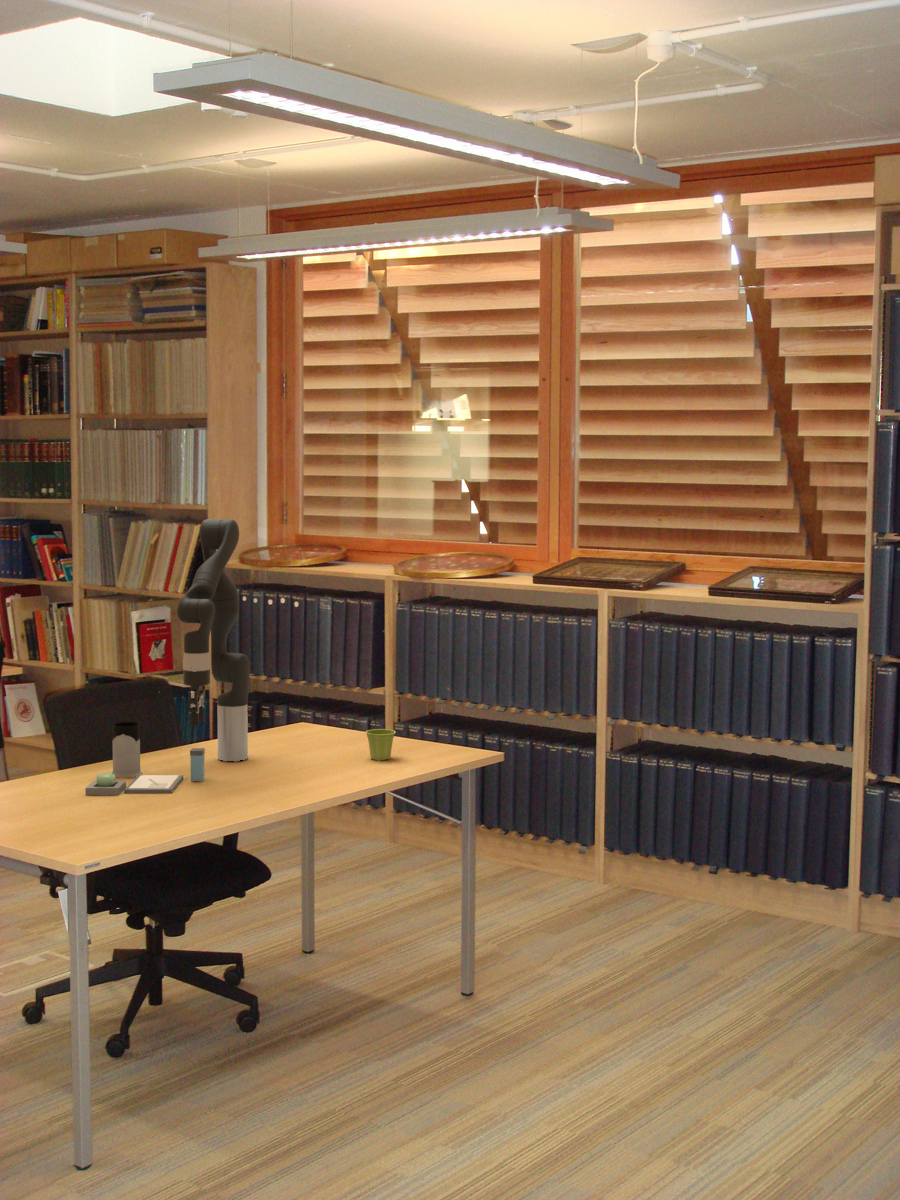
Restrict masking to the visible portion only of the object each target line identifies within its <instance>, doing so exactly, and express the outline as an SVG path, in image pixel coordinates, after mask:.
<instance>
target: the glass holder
mask: <svg viewBox="0 0 900 1200" xmlns="http://www.w3.org/2000/svg"><path fill="white" fill-rule="evenodd" d="M111 774H115V778H117V777H119V779H127V777H131V778H134V777H133V776H138V775H140V774H142V775H143V772H142V771H141V738H140V723H139V722H136V721H135V722H134V721H121V722H116V723H113V724H112V772H111Z"/></svg>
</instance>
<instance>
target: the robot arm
mask: <svg viewBox="0 0 900 1200" xmlns="http://www.w3.org/2000/svg"><path fill="white" fill-rule="evenodd" d="M199 540H200V547H201V551H202V552H201V553H202V557H203V563H202V564H201V565H200V566H199V567H198V568H197V570H196V572H195V574H194V577H193V580H192V583H191V586H190V588H189V589H188V590H187V591H186V592H185V594H184V595H183V596H182V598H181V599H180V600H179V602H178V604H177V607H176V614H177V618H178V619H179V621H180V622H182V623H185V624H200V626H199V628H198V629H197V630H193V631H192V630H191V631H187V632H186V633H185V634H184V637H183V661H182V663H183V664H182V668H183V669H182V671H183V672H182V673H183V678H182V680H183V683H182V684H183V685H185V686H190V691H188V693H187V696H188V698H187V700H188V703H187V705H188V707H187V708H188V709H187V712H188V713H189V715H190V717H189V719H190V720H189V721H190V722H189V723H190V727H192V728H197V727H199V724H200V723H199V722H203V721H204V720H205V719H204V715H205V714H204V708H205V705H206V686H208V685H210V683H211V675H212V676H213V677H212V678H213V679H214V680H215V681H216V682H218V683H228V684H229V683H232V686H231V689H230V690H229V691H227V692H224V693H222V694H219V695H217V703H216V705H217V706H216V708H217V712H216V713H217V760H218V759H219V760H218V761H220V760H223V761H222V762H227V761H234V762H241V761H240V760H243V761H246V760H248V759H249V755H248V753H249V748H248V745H249V744H248V741H249V739H248V738H249V736H248V735H249V734H248V733H249V729H248V726H249V725H248V724H249V721H248V720H249V719H248V716H249V715H248V698H249V695H250V694H249V693H250V676H251V675H250V673H251V671H250V670H251V665H250V660H249V658H248V657H249V656H247V654H245V653H240V652H239V653H237V652H228V649H227V645H228V644H227V641H228V635H229V633H230V631H231V629H232V628H233V625H234V624H235V622H236V621H237V618H238V616H239V611H240V610H239V609H240V603H239V595H238V590H237V587H236V585H235V584H234V582H233V580H232V579H231V578H230V577H229V575H228V573H226V571H225V568H226V566H227V564H228V563H229V561H230V559H231V557H232V555H233V553H234V551H235V550H236V547H237V546H238V543H239V540H240V527H239V525H238V522H237V521H236V520H234V519H232V518H211V519H210V518H209V519H204V520H202V521H201V524H200V527H199ZM247 758H248V759H247ZM245 759H246V760H245Z"/></svg>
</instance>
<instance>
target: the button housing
mask: <svg viewBox="0 0 900 1200" xmlns="http://www.w3.org/2000/svg"><path fill="white" fill-rule="evenodd" d="M126 787H127V781H126V780H115V785H112V786H97V783H96V780H93V781H91V782H90V783H89V784H88V785H87V786H85V794H84V795H85V796H119V795H120V794H121V793H123V792H124V789H125V788H126Z"/></svg>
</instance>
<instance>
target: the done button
mask: <svg viewBox="0 0 900 1200" xmlns="http://www.w3.org/2000/svg"><path fill="white" fill-rule="evenodd" d="M95 779H96V780H95V781H96V783H97V786H112V785H115V781H116V777H115V774H112V773H99V774H97V775H96V777H95Z"/></svg>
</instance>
